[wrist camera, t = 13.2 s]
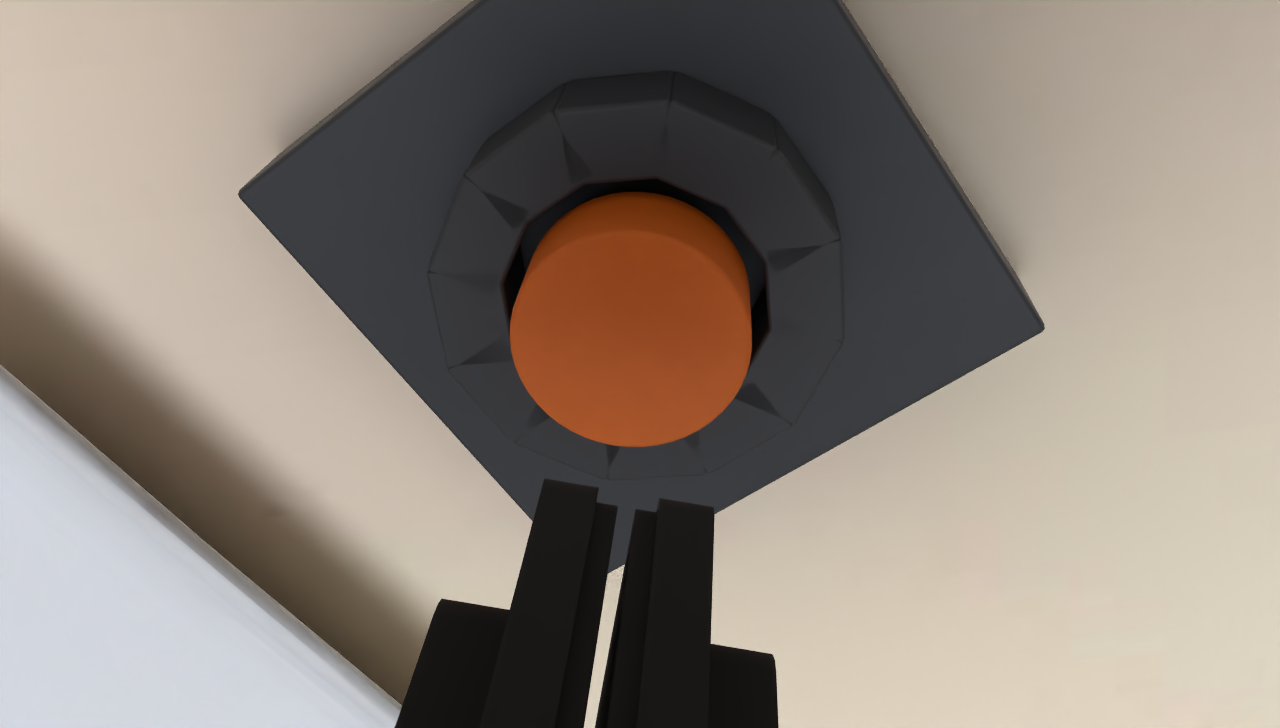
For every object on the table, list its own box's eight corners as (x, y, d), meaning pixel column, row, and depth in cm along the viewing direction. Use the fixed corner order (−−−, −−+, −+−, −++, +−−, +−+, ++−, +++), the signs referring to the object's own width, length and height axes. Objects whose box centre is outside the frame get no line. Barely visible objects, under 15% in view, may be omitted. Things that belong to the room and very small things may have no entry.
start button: (481, 270, 19) (458, 317, 17) (663, 144, 18) (657, 182, 16) (615, 430, 20) (605, 486, 18) (793, 322, 19) (799, 373, 17)
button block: (277, 155, 22) (191, 233, 18) (718, -195, 19) (718, -181, 15) (599, 522, 25) (579, 647, 22) (1019, 279, 22) (1075, 381, 19)
